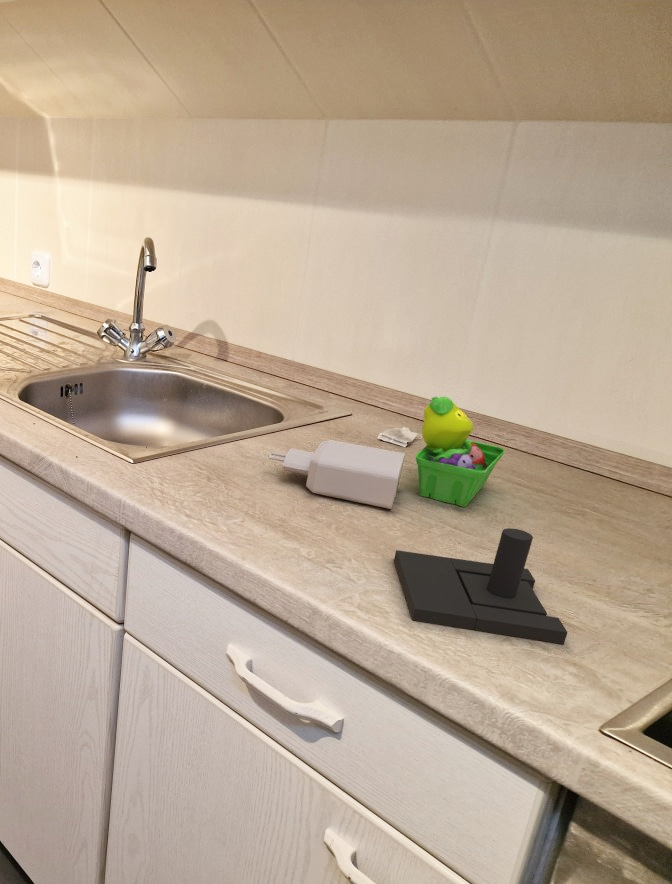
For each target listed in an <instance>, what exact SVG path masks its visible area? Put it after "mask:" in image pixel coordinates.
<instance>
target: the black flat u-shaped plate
mask: <svg viewBox="0 0 672 884" xmlns="http://www.w3.org/2000/svg"><path fill="white" fill-rule="evenodd" d="M393 563H394V565H395V569H396V572H397V575H398V579H399V582H400V585H401V589H402V592H403V595H404V598H405V601H406V604H407V608H408V610H409V614H410V617H411V620H412V621H416V622H422V623H429V624H435V625H441V626H447V627H451V628H452V627H453V628H459V629H466V630H471V631H478V632H483V633H489V634H496V635H503V636H508V637H509V636H510V637H515V638H521V639H528V640H533V641H541V642H546V643H553V644H558V645H559V644H560V645H565V642H566V639H567V636H568V633H569V632H568V630H567V629H566V628H565V626H564V624H563V623H562V621H561V620H560V618H559V617H555V616H550V615H547V616H544V615H537V614H531V613H524V612H518V611H511V610H505V609H498V608H491V607H485V606H478V605H471V604H470V602H469V599H468V597H467V595H466V593H465V590H464V588H463V586H462V584H461V582H460V579H459V577H458V575H459V572H462V573H469V574H476V575H483V576H490V574H491V571H492V567H493V564H494V563H489V562H482V561H475V560H469V559H461V558H453V557H446V556H439V555H433V554H425V553H419V552H411V551H404V550H399V549H398V550H395V554H394V558H393ZM521 581H524V582H528V583H529V584H530V586H531V588H532V589H534V586H535V583H536V579H535V577H534V576H533V575H532V573H531V572H530V570H529V569H528V568H525V567H524V570H523V574H522V577H521Z"/></svg>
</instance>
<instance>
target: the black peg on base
mask: <svg viewBox="0 0 672 884" xmlns="http://www.w3.org/2000/svg"><path fill="white" fill-rule="evenodd" d="M533 539H534V537H533V535H532V534H531V533H529V532H527V531H525V530H522V529H518V528H510V527H508V528H504V529H502V531H501V535H500V538H499V543H498V546H497V549H496V553H495V556H494V560H493V563H492V564H493V567H492V571H491V574H490V576H483V575H476V574H469V573H462V572H459V575H458V577H459V579H460V582H461V584H462V586H463V588H464V590H465V593H466V595H467V597H468V599H469V602H470V604H471V605H478V606H485V607H491V608H498V609H505V610H511V611H518V612H524V613H531V614H537V615H544V616H548V612H547V610H546V609H545V607H544V606H543V604H542V603H541V601H540V599H539V597H538V595H537V594H536V592H535V591H534V590H533V589H534V588H533V589H532V588H531V586H530V584H529V583H528V582H524V581H521V577H522V574H523V570H524V568H525V566H526V563H527V559H528V556H529V553H530V549H531V547H532V542H533Z"/></svg>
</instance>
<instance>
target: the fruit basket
mask: <svg viewBox="0 0 672 884" xmlns="http://www.w3.org/2000/svg"><path fill="white" fill-rule="evenodd" d="M423 416H424V417H423V418H424V419H423V424H422V430H421V431H422V432H421V433H422V439H423V441H424V443H425V444H426V445H425V446H424V447H423V448H422V449H421V450H419V452H417V453H416V454H415V461H416V464H417V473H418V474H417V475H418V491H419V496H421V497H425V498H430V499H432V500H434V501H439V502H443V503H448V504H451V505H456V506H459V507H462V508H465V507H467V505H468V504H469V503H470V502H471V501H472V500H473V499H474V497H475V496H476V495H478V493H479V492H480V490H481V489H482V488H483V487H484V486H485V484H486V483H487V480H488V479H489V477H490V476H491V474H492V472H493V470H494V469H495V466H496V465H497V464H498V462H499V461H500V460H501V459H502V457H503V455H504V454H505V452H506V449H504V448H502V447H500V446H496V445H492V444H487V443H483V442H478V441H473V440H471V439H467V438H468V437H469V435H470V434H471V433H472V432H473V431H474V424H473V422H472V420H471V419H470V418H469V417H468V416H467V414H466V413H465V412H464V411H462V410H461V409H460V408H459V407H458V406H457V405H456V404H455V403H454V401H453V400H452V399H451V398H449V397H447V396H440V397H438V396H433V397H431V400H430V402H429V403H428V404H427V405H426V406H425V408H424V410H423Z"/></svg>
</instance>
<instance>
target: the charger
mask: <svg viewBox="0 0 672 884" xmlns="http://www.w3.org/2000/svg"><path fill="white" fill-rule="evenodd" d="M405 457H406V452H401V451H394V450H389V449H383V448H379V447H378V448H377V447H372V446H368V445H361V444H356V443H351V442H345V441H340V440H334V439H328V440H325V441H322V442H320V443H319V445H318V447H317V448H316V450H315V451H314V452H313V451H309V450H302V449H297V448H292V447H290V449H288V451H287V453H283V452H277V451H272V452H271V455H269V456H268V458H267V459H268V460H273V461H278V462H283V463H282V470H283V471H284V472H289V473H294V474H300V475H305V476H307V478H306V486H305V487H306V489H308V490H309V491H310V492H311V493H312V494H316V495H321V496H326V497H331V498H336V499H340V500H345V501H350V502H355V503H360V504H364V505H369V506H374V507H379V508H383V509H387V510H388V509H389V510H392V509H393V506H394V502H395V498H396V495H397V492H398V489H399V484H400V480H401V477H402V472H403V471H402V470H403V468H404V467H403V466H404V462H405Z"/></svg>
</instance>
